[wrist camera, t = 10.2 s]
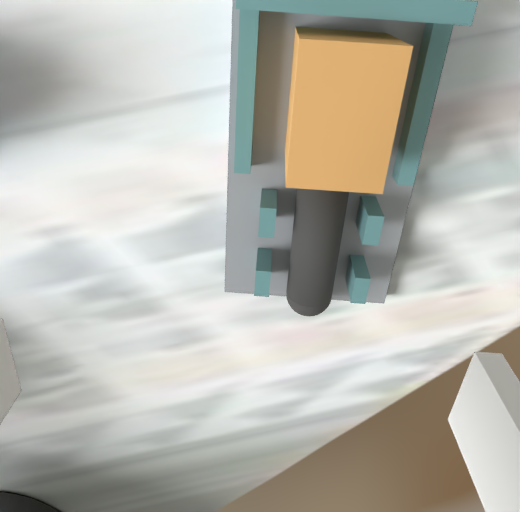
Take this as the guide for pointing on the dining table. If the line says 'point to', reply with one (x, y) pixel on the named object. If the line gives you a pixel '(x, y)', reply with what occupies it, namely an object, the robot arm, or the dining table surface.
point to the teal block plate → (274, 138)
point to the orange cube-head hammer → (336, 144)
